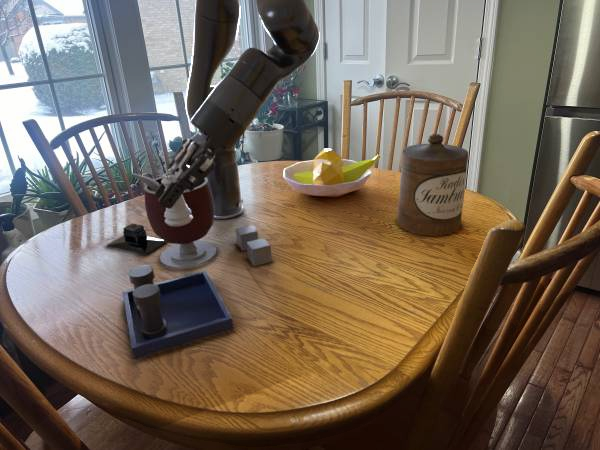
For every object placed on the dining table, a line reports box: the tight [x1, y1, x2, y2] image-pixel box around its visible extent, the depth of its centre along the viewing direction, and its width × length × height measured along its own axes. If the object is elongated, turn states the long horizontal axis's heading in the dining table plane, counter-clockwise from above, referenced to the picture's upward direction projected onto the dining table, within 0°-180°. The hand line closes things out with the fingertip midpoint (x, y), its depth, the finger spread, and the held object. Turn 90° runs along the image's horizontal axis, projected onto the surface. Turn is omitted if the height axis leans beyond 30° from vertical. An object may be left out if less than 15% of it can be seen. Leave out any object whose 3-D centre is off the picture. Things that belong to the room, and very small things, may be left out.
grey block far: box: [234, 224, 259, 252], centre depth 100 cm, size 4×4×4 cm
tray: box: [121, 270, 234, 360], centre depth 76 cm, size 18×16×3 cm
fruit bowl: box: [282, 148, 381, 198], centre depth 130 cm, size 28×27×11 cm
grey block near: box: [246, 237, 273, 267], centre depth 93 cm, size 4×4×4 cm
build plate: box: [106, 223, 167, 256], centre depth 103 cm, size 12×7×5 cm, turn 65°
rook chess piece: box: [161, 172, 193, 226], centre depth 69 cm, size 4×4×8 cm
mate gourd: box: [130, 172, 217, 268], centre depth 93 cm, size 16×14×20 cm
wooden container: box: [397, 133, 469, 237], centre depth 103 cm, size 15×15×22 cm
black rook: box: [128, 264, 161, 315], centre depth 76 cm, size 4×4×8 cm
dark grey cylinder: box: [133, 283, 168, 340], centre depth 70 cm, size 4×4×8 cm
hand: (162, 201), depth 68 cm, fingers closed on rook chess piece, 3 cm apart
